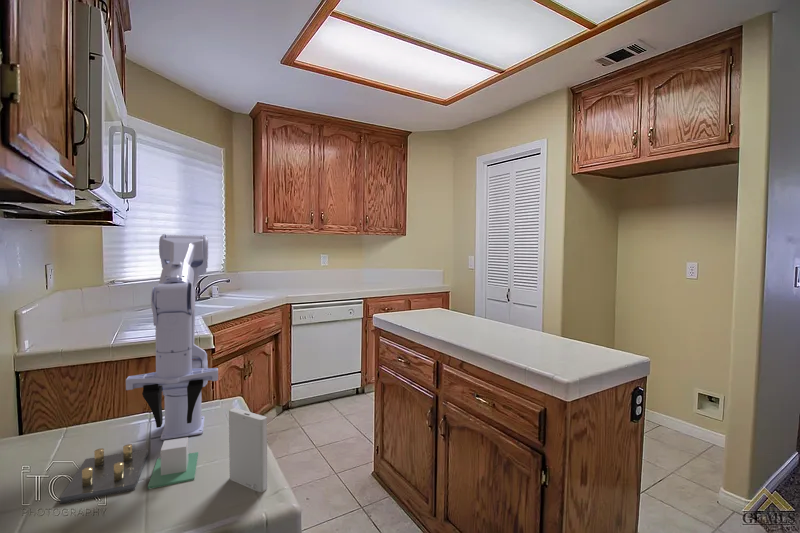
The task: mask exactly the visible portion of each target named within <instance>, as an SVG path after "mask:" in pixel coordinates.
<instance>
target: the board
mask: <svg viewBox="0 0 800 533" xmlns="http://www.w3.org/2000/svg"><path fill="white" fill-rule="evenodd" d="M198 458H199V451H196V452H189V436H185V437H179V438H172V439H165V440H163V443H162V446H161V448H160V457H159V458H158V457H157V459H156V462H155V466H153V467H154V468H153V470H152V473H151V476H150V480H149V482H148V485H147V490H151V489H156V488H161V487H166V486H170V485H171V486H172V485H175V484H180V483H186V482H191V481H195V477H196V473H197V472H196V471H197V465H198Z"/></svg>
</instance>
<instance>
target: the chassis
mask: <svg viewBox="0 0 800 533" xmlns="http://www.w3.org/2000/svg"><path fill="white" fill-rule="evenodd" d="M93 452H94V455H93V456H94V457H90V458H84V461H83V462H82V464H81V465H80V467H79V468H78V470H77V472H76V473H75V475H74V476H73V478H72V479H71V481H69V483H68V485H67V487H66V488H65V490H64V491H63V493H62V494H61V495H60V497H59V504H60V505H62V504H67V503H72V502H73V503H74V502H77V501H83V500H88V499H89V500H90V499H93V498H99V497H103V496H109V495H110V496H111V495H115V494H121V493H124V492H125V493H127V492H130V491H136V487H137V484H138V483H139V480H140V477H141V474H142V471H143V469H144V466H145V463H146V462H147V458H148V455H149V448H147V449H141V450H134V451H133V444H131V443H128V444H125V445H123V446H122V452H121V453H114V454H109V455H108V454H107V455H105V448H97V449H95V450H94V451H93Z"/></svg>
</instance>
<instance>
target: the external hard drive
mask: <svg viewBox="0 0 800 533" xmlns="http://www.w3.org/2000/svg"><path fill="white" fill-rule="evenodd" d="M228 412H229V413H228V416H229V417H228V429H229V430H228V433H229V435H228V436H229V437H228V440H229V441H228V442H229V446H228V447H229V453H228V454H229V455H228V456H229V480H230V481H232V482H235V483H237V484H240V485H241V486H244V487H247V488H248V489H250V490H253V491H255V492H257V493H263V492H265V491H267V490H268V417H267V416H265V415H262V414H257V413H254V412H251V411H247V410H244V409H241V408H238V407H234V408H231V409H229V410H228Z"/></svg>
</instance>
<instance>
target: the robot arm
mask: <svg viewBox="0 0 800 533" xmlns="http://www.w3.org/2000/svg"><path fill="white" fill-rule="evenodd" d="M158 253H159V254H158V255H159V259H160V262H161V268H162V270H161V273H160V277H159V282H158V284H157V286H152V289H151V294H150V297H151V298H150V306H151V310H152V311H151V312H152V320H153V321H152V322H153V326H154V327H155V330H154V331H155V372H154V371H153V372H148V373H143V374H142V373H141V374H136V375H129V376H127V378H126V379H125V391H133V390H134V389H140V388H142V393H141V394H142V397H143V399H144V401H145V402H146V403H147V405H148V407H149V409H150V411H151V413H152V415H153V418H154V421H155V426H156V428H162V426H163V423H164V427H163V429H162V432H161V435H160V440H161V441H166V440H172V439H179V438H186V437H190V436H196V435H201V434H203V433H204V426H205V418H206V417H205V415H202V389H203V388H204V387H206V386H207V385H208V381H212V382H217V381H219V368H218V367H212V368H211V367H209V364H208V353H207V352H206V350H204V349H203V348H201V347H200V346H198V345H196V344H195V338H196V336H195V332H196V331H195V329H196V328H195V326H196V321H195V320H196V290H197V289H196V287H197V284H198V279H199V277H200V276H202V275H204V274H206V273H207V269H208V267H209V266H208V264H209V263H208V261H209V238H208V237H207V236H206V235H205V234H204V235H189V234H188V235H187V234H186V235H185V234H184V235H182V234H165V233H164V234H162V235H161V236H160V237H159V241H158ZM162 396H164V415H163V406H162V400H163V399H162ZM163 417H164V418H163ZM163 421H164V422H163Z"/></svg>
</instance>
